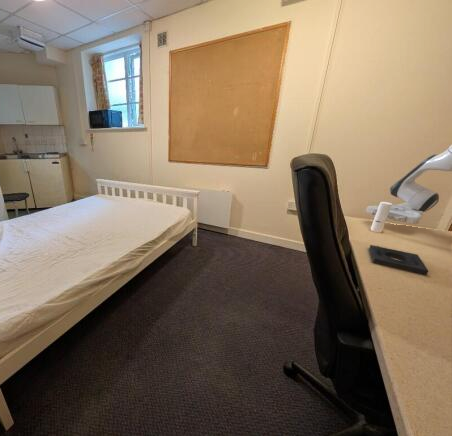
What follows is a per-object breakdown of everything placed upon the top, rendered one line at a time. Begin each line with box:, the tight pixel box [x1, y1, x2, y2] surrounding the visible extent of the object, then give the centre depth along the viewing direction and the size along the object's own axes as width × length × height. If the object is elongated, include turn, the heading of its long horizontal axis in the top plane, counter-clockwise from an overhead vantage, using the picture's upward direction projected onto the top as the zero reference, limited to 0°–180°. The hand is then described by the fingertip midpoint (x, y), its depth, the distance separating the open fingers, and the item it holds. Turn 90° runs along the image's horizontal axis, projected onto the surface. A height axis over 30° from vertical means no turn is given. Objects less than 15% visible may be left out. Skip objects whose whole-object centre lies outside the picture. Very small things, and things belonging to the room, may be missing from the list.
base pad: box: [368, 244, 429, 276], centre depth 86 cm, size 14×14×2 cm
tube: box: [370, 201, 393, 233], centre depth 111 cm, size 4×4×15 cm
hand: (383, 216), depth 111 cm, fingers open, 8 cm apart
